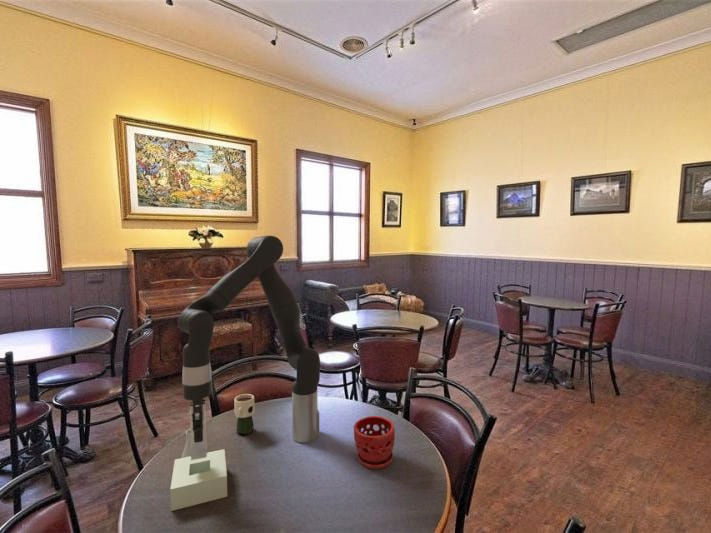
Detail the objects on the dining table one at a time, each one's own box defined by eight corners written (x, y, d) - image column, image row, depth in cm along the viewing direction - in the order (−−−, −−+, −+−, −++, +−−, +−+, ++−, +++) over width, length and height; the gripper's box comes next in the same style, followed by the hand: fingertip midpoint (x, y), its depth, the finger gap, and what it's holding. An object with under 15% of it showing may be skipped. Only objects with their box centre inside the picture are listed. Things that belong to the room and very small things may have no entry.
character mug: (249, 439, 128) (249, 404, 128) (230, 439, 129) (229, 404, 128) (258, 424, 139) (258, 391, 138) (240, 423, 139) (240, 391, 139)
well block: (225, 467, 112) (224, 449, 112) (227, 496, 100) (226, 475, 99) (175, 478, 107) (174, 459, 107) (171, 511, 94) (170, 489, 94)
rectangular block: (206, 449, 105) (205, 403, 104) (206, 457, 102) (205, 409, 101) (191, 452, 104) (190, 406, 103) (191, 460, 100) (189, 412, 99)
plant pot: (365, 445, 125) (365, 411, 124) (400, 455, 118) (400, 420, 118) (346, 465, 113) (346, 429, 112) (384, 478, 107) (384, 440, 106)
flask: (194, 469, 112) (193, 438, 111) (174, 466, 113) (173, 435, 112) (208, 455, 119) (207, 426, 118) (189, 453, 120) (188, 424, 120)
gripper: (211, 386, 96) (213, 447, 97) (211, 369, 109) (212, 423, 110) (180, 390, 93) (182, 454, 94) (184, 372, 106) (185, 428, 107)
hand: (198, 437), depth 102 cm, fingers closed on rectangular block, 4 cm apart
